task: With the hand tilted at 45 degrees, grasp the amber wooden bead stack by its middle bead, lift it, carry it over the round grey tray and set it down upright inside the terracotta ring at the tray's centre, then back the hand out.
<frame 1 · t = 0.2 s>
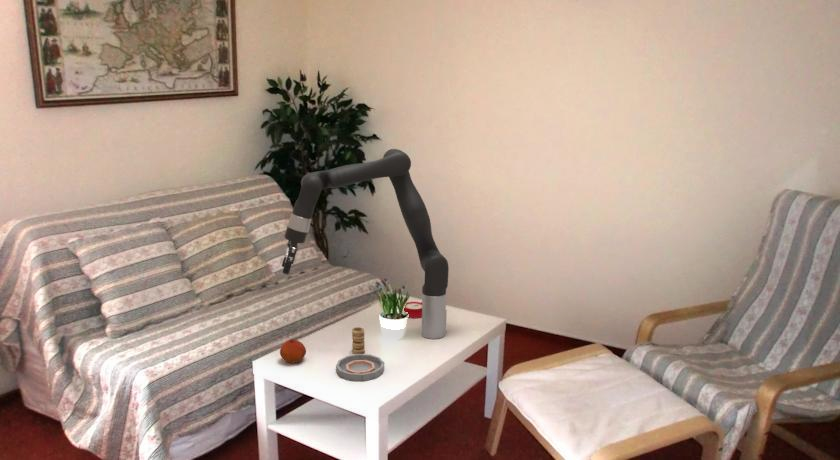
hand: (284, 270, 235), 30 cm above the table, tool tilted 20°, fingers open, 8 cm apart
fruit: (293, 361, 232), on the table
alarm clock: (417, 314, 279), on the table
bead stack: (358, 352, 240), on the table
round tray: (360, 370, 226), on the table
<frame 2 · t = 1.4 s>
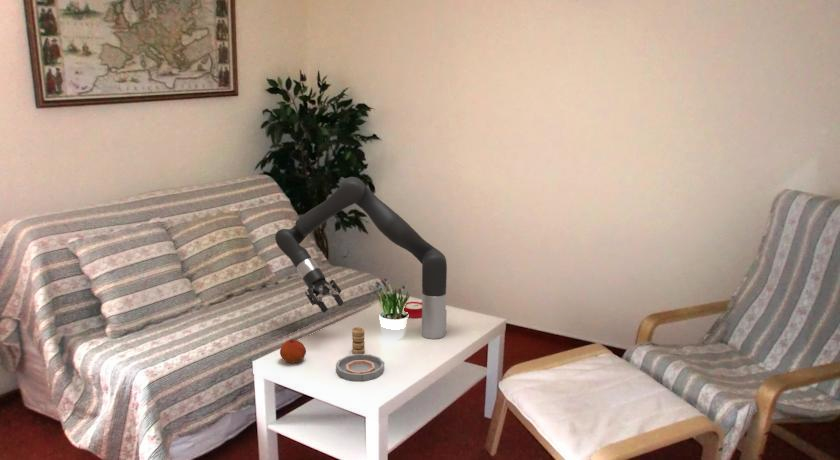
hand: (334, 308, 243), 15 cm above the table, tool tilted 45°, fingers open, 8 cm apart
nothing on the table moved.
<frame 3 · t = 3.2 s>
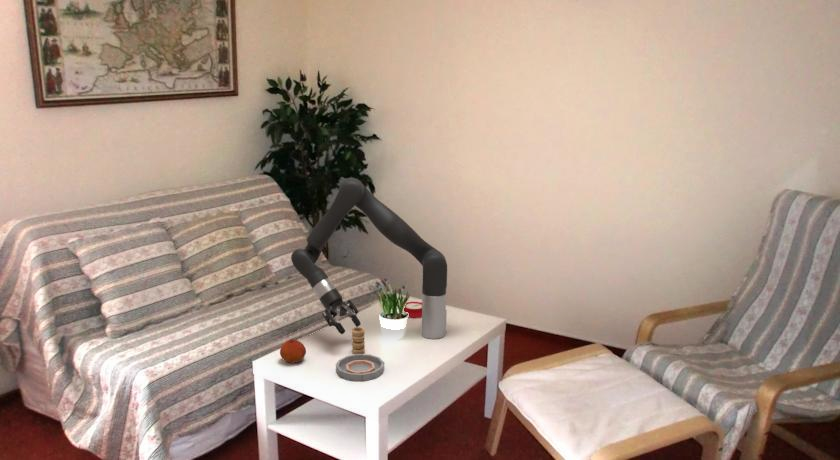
hand: (351, 329, 240), 8 cm above the table, tool tilted 45°, fingers open, 8 cm apart
nothing on the table moved.
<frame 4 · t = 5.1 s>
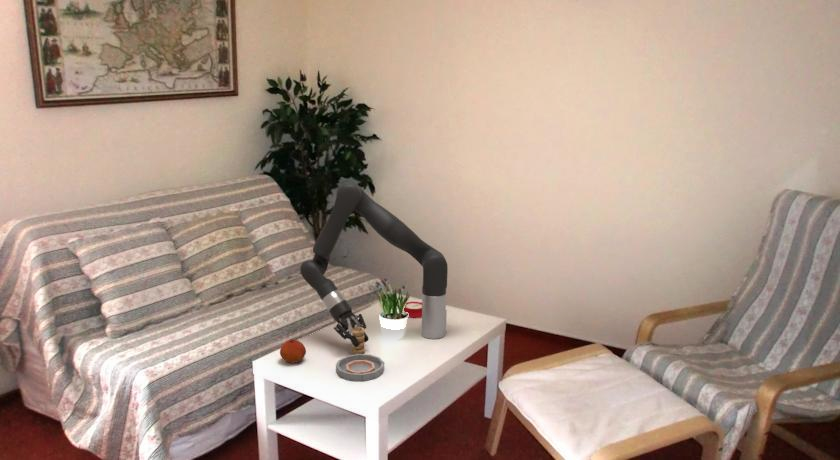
hand: (362, 343, 238), 4 cm above the table, tool tilted 45°, fingers closed on bead stack, 4 cm apart
bead stack: (358, 352, 240), on the table, touching gripper
everything else where it was.
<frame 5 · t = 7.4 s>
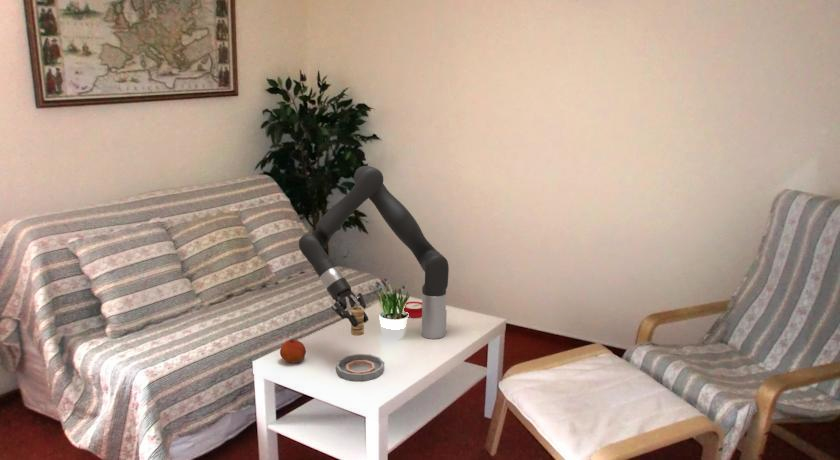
hand: (361, 323, 224), 16 cm above the table, tool tilted 45°, fingers closed on bead stack, 4 cm apart
bead stack: (357, 333, 227), point 12 cm above the table, touching gripper
everything else where it was.
when the fingers open (6 cm above the table, at t = 10.0 s): bead stack drops 1 cm, resting on round tray.
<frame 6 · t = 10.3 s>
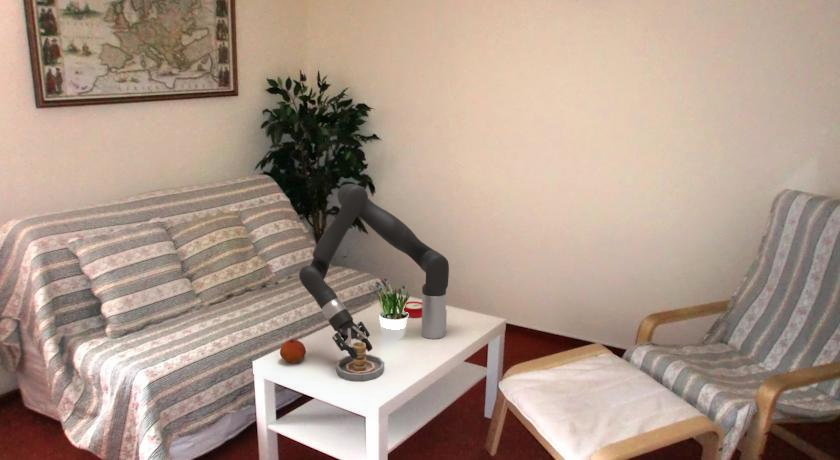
hand: (363, 353, 223), 7 cm above the table, tool tilted 45°, fingers open, 7 cm apart
bead stack: (359, 368, 225), point 1 cm above the table, touching round tray
everything else where it was.
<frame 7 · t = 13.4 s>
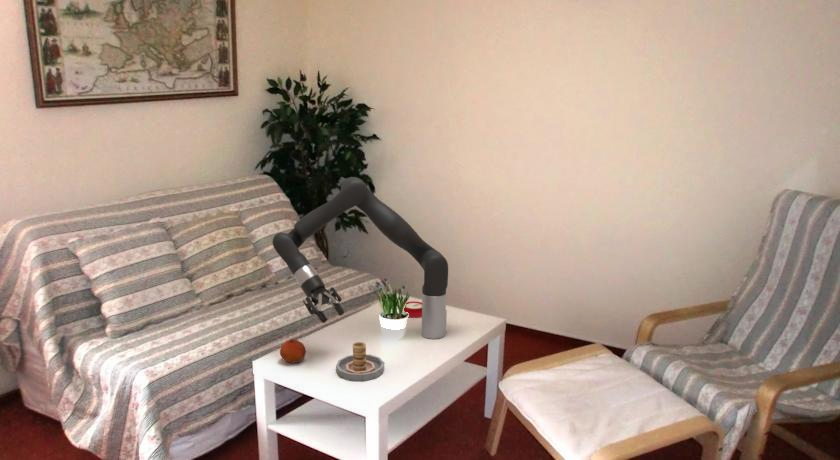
hand: (334, 317, 228), 17 cm above the table, tool tilted 45°, fingers open, 8 cm apart
nothing on the table moved.
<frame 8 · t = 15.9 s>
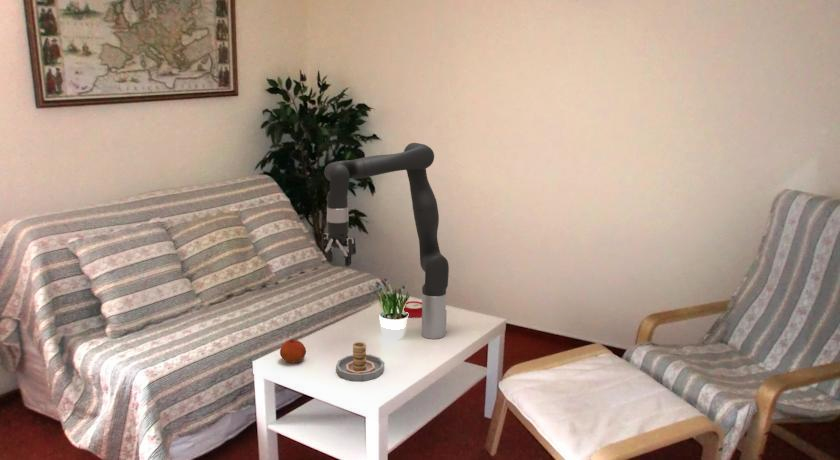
hand: (338, 263, 234), 33 cm above the table, tool pointing down, fingers open, 8 cm apart
nothing on the table moved.
at the end: bead stack 0.2 cm from the round tray (horizontally); bead stack tilted 0°; the gripper is holding nothing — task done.
